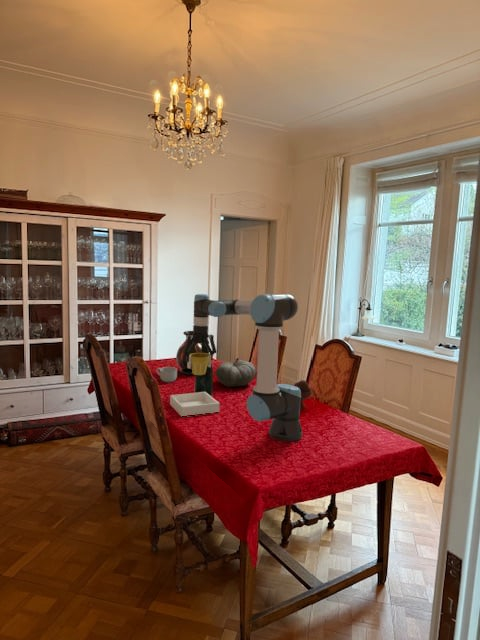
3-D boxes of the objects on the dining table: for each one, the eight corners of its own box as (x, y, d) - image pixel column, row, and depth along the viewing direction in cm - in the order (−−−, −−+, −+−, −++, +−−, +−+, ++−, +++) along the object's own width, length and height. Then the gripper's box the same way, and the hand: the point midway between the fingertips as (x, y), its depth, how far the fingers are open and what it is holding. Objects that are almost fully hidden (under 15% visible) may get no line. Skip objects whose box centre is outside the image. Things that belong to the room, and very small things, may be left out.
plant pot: (192, 376, 221) (192, 357, 219) (186, 371, 230) (186, 353, 229) (211, 375, 225) (212, 356, 224) (205, 370, 234) (205, 352, 233)
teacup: (180, 380, 281) (180, 368, 280) (168, 384, 272) (169, 372, 271) (163, 377, 288) (164, 365, 287) (152, 380, 279) (152, 368, 278)
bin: (219, 412, 227) (219, 403, 226) (182, 417, 218) (182, 407, 218) (205, 400, 245) (205, 391, 244) (170, 404, 236) (170, 395, 235)
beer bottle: (201, 398, 248) (203, 340, 243) (190, 393, 255) (192, 337, 251) (216, 395, 255) (218, 339, 250) (205, 390, 262) (207, 336, 258)
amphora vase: (180, 367, 314) (181, 328, 310) (210, 369, 311) (211, 330, 307) (171, 375, 293) (172, 333, 289) (203, 377, 290) (205, 335, 286)
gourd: (264, 383, 274) (260, 356, 272) (231, 395, 261) (226, 366, 259) (242, 377, 295) (238, 352, 293) (210, 388, 282) (206, 362, 279)
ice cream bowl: (314, 406, 242) (316, 380, 240) (302, 411, 234) (304, 383, 232) (298, 401, 249) (300, 376, 247) (286, 406, 241) (288, 379, 239)
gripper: (218, 323, 232) (216, 364, 235) (176, 324, 222) (175, 366, 225) (224, 325, 225) (222, 367, 229) (181, 326, 215) (180, 370, 219)
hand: (199, 367), depth 227 cm, fingers closed on plant pot, 10 cm apart
